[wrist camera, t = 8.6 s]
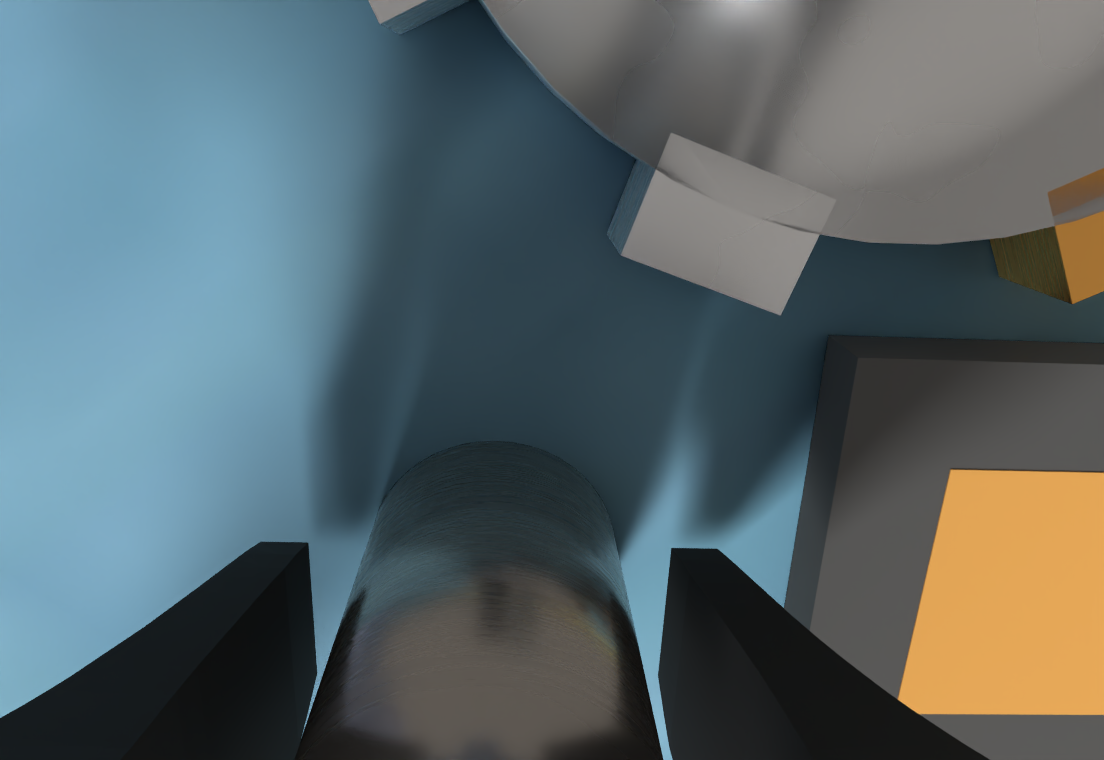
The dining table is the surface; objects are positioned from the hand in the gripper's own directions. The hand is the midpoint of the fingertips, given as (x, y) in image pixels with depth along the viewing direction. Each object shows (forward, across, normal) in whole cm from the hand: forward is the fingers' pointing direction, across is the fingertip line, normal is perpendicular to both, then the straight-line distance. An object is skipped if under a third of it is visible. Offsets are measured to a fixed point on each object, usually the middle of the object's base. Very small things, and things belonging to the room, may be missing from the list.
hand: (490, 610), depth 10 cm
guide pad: (+1, -8, 0) cm, 8 cm away
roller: (+1, 0, 0) cm, 1 cm away
